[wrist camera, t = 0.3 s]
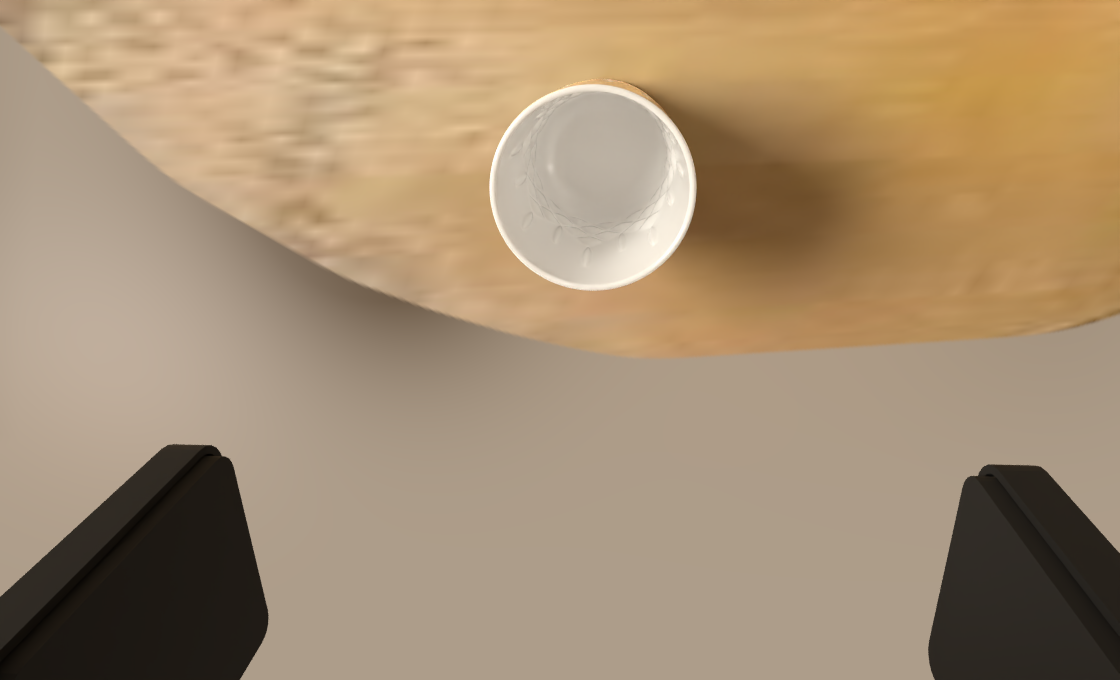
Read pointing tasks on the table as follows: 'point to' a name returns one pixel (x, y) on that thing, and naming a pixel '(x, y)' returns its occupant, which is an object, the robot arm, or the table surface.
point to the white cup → (593, 185)
